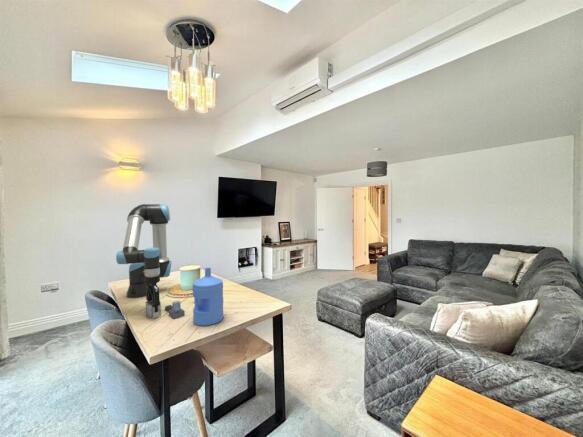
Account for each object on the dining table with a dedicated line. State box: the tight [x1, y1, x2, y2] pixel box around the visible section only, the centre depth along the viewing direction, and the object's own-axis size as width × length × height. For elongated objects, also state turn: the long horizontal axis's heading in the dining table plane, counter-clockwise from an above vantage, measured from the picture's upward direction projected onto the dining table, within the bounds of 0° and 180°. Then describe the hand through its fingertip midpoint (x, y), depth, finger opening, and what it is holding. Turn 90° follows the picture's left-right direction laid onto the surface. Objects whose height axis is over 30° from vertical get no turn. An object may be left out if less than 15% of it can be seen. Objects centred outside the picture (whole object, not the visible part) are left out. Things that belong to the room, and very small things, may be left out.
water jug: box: [192, 267, 225, 327], centre depth 131 cm, size 16×16×28 cm
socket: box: [144, 300, 162, 320], centre depth 137 cm, size 6×6×8 cm
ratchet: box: [164, 300, 186, 320], centre depth 140 cm, size 17×6×8 cm, turn 46°
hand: (153, 315), depth 137 cm, fingers open, 8 cm apart
